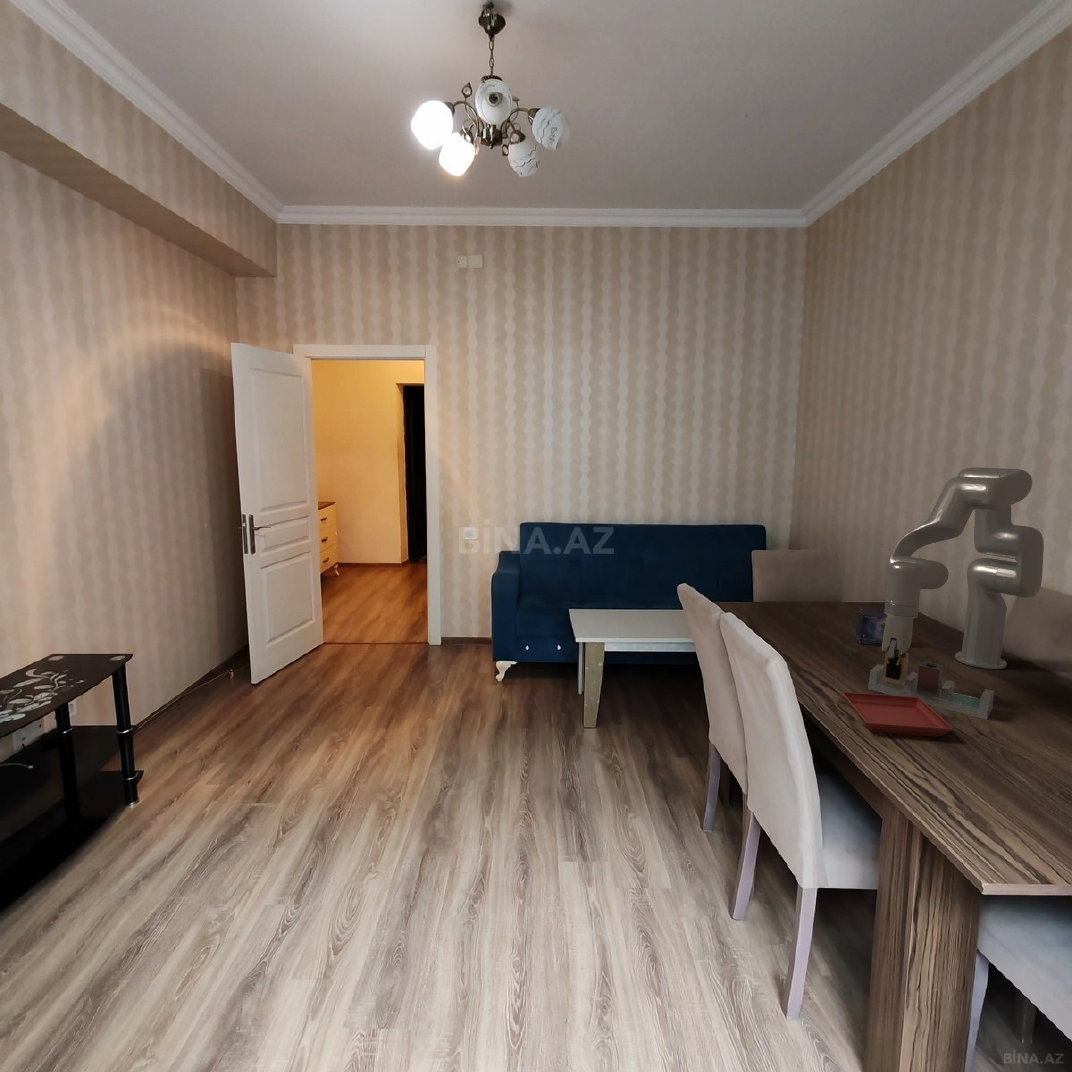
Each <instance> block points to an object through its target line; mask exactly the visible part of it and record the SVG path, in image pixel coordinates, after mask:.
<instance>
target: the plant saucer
mask: <svg viewBox="0 0 1072 1072" xmlns="http://www.w3.org/2000/svg"><path fill="white" fill-rule="evenodd" d="M842 694H843V697H844V699H845V700H846V702H847V703H848V704H849V706H850V707H851V708H852V710H853V711H854V713H856V714H857V716H858V717H859V718H860V719H861V721H862V722H863V723H864V724H865V726H866V727H867V728H868V730H869V731H870V732H873V733H883V734H895V735H896V734H897V735H910V736H921V737H922V736H923V737H934V738H938V737H942V736H944V735H945V734H946V735H947V734H948V733H949V732H951V731H952V730H954V729H953V726H951V724H949V723H948V721H946V720H945V719H944V718H943V717H941V715H939V714H938V713H937V712H936V711H935V710H934V709H933V708H931V706H930V705H928V704H926V703H925V702H924V701H923V700H922V699H920V698H918V697H909V696H894V695H889V694H878V693H863V692H848V691H847V692H846V691H845V692H842Z"/></svg>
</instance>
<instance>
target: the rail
mask: <svg viewBox="0 0 1072 1072" xmlns="http://www.w3.org/2000/svg"><path fill="white" fill-rule="evenodd" d="M883 675H884V664H880V663H878V664H876V665H875V666H874V667H872V668H871V669H870V670H869V680H868V682H867V683H868V686H867V690H870V691H874V692H877V693H878V692H879V693H882V694H884V695H894V696H909V697H918V698H920V699H922V700H923V701H924V702H925V703H926V704H927V705H928V706H931V707H932V706H933V707H935V708H940V709H943V710H949V711H952V712H956V713H961V714H963V715H967V716H972V717H975V718H979V719H982V720H988V718H989V716H990V714H991V713H992V711H993V704H994V697H995V690H992V689H988V688H985V689H984V691H983V692H982V694H981V695H980V698H979V697H976V696H971V695H967V694H964V693H963V694H962V693H959V692H954V689H955V681H954V680H950V679H949V680H948V679H947V680H946V681H945V683H944V684H943V685H942V686H941V692H940V693H939V694H938V696H932V695H928V694H924V693H920V692H916V689H917V680H918V673H917V672H914V671H911V672H910V674H908V675H907V678H906V679H905V681H904V682H903V684H900V683H896V682H892V681H888V680H884V679H883Z"/></svg>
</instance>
